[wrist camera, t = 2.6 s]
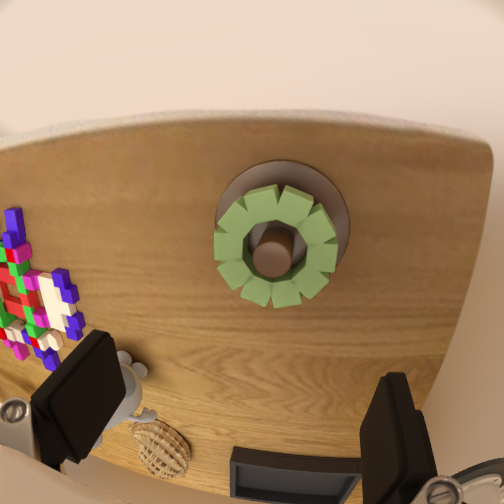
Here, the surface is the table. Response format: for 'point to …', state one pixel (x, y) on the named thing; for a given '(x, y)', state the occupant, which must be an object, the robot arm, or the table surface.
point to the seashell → (161, 449)
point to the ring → (287, 211)
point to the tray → (291, 477)
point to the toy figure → (130, 395)
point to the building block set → (34, 299)
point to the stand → (276, 232)
